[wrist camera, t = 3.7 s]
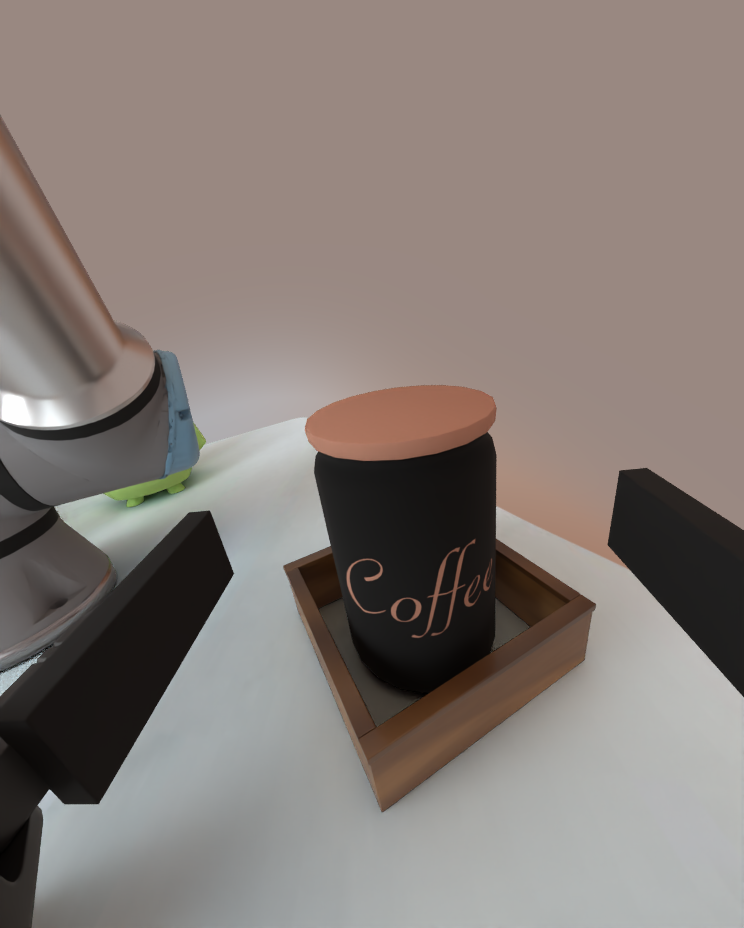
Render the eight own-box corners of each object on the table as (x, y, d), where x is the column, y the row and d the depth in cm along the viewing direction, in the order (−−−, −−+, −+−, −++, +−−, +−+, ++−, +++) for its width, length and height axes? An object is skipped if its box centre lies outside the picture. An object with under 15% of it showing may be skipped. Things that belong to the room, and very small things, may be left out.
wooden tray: (296, 610, 31) (283, 565, 29) (441, 542, 37) (438, 500, 35) (381, 816, 18) (367, 760, 16) (587, 660, 24) (596, 604, 22)
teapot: (77, 530, 51) (31, 449, 45) (93, 495, 62) (57, 427, 57) (221, 484, 59) (195, 411, 53) (212, 460, 70) (190, 398, 64)
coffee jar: (346, 705, 23) (279, 454, 16) (360, 586, 33) (322, 396, 25) (514, 700, 22) (526, 427, 15) (477, 578, 32) (473, 377, 24)
